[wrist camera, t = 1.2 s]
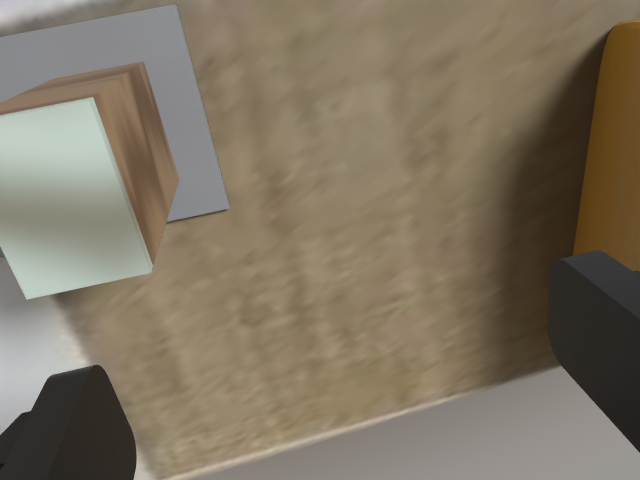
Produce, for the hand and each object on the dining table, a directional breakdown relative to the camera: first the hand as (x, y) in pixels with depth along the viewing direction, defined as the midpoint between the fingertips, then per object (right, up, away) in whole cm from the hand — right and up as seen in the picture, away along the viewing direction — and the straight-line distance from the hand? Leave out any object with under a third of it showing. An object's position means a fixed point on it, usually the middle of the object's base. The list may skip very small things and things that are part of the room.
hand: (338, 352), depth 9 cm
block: (-12, +8, +21) cm, 26 cm away
